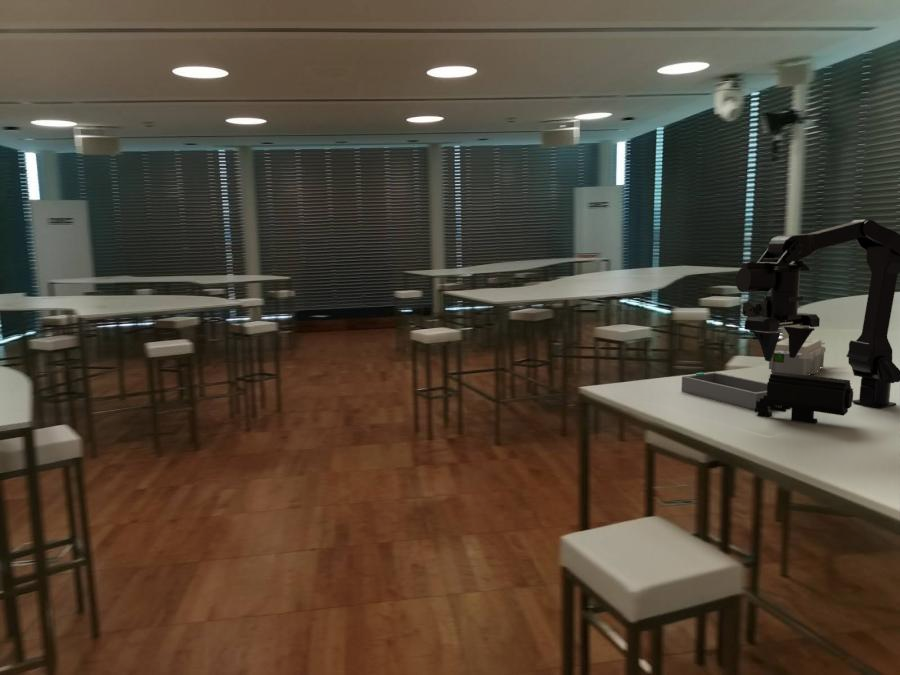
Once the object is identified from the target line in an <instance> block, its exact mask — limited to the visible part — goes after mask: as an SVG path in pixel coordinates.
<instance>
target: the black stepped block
mask: <svg viewBox="0 0 900 675" xmlns="http://www.w3.org/2000/svg"><path fill="white" fill-rule="evenodd" d="M766 383H767V395H764V398H760V401H756V408H755V410H754V412H755V413H757V416H760V417H766V418H769V417H772V415H773V411H776V412H782V413H786V412H787V410H790V409H791V415H790V416H791V417H790V418H791V419H790V421H792V422H799V423H805V424H813V425H815V424H816V423H817V422H818V418H815V417H814V416H815V412H816V413H823V414H829V415H830V414H831V415H837V416H845V415H847V413H849V412H848V411H849V409H850V408H852V407H853V406H852V405H853V400H854V391H853V390H854V388H852V386H851V380H849V379H843V378H842V379H841V378H835V377H825V376H814V375H810V376H808V375H799V374H790V373H781V372H774V373H772V374H771V373H770V374H769V378H768V381H767V382H766ZM768 406H770V408H768ZM769 410H770V411H769Z"/></svg>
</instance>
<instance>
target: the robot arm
mask: <svg viewBox="0 0 900 675" xmlns="http://www.w3.org/2000/svg"><path fill="white" fill-rule="evenodd" d="M851 241H855V242H856V244H857V245H858V247H859V248H861V249H862V250H864V251H865V252H866V263H867V265H868V268H869V269H870V272H871V273H870V274H871V277H870V282H869V289H868V292H867V294H868V295H867V300H866V307H865V312H864V316H863V317H864V319H863V324H862V330H861V334H860V335H859V337H858V338H857V339H855V340H852V339H851V340H850V341H849V343H848V351H847V354H846V357H847V358H848V365H850V367H851V369H852V373H853V376H855V377H859V378H861V379H860V386H859V396H858V397H859V398H858V399H855V400H854V399H853V402H852V404H857V405H863V406H868V407H872V408H877V409H883V408H889V407H895V406H897V402H892V401H890V398H891V397H890V396H891V385H892V384H895V383H900V369H899V368H898V366H896V364H895V363H894V362H893V348H892V346H891V343H890V341H889V339H888V333H889V328H890V321H891V316H892V312H893V304H894V298H895V293H896V286H897V280H898V276H899V274H900V233H898V232H897V231H894V230H892V229H890V228H888V227H885V226H883V225H881V224H880V223H877V222H876V221H875V220H873V219H870V218H866V219H854V220H852V221H851V222H848V223H847V222H846V223H843V224H839V225H836V226H831V227H828V228H824V229H820V230H817V231H813V232H809V233H803V234H787V235H786V234H785V235H777V236H775V237H773V238H771V239H770V242H769V244H768V246H767V248H766V250H765V251H764V253H763V254H762V255H761V256H760V258H759V259H758V261H757V262H752V261H744V262H743V261H742V262H741V264H742V265H741V268H739V270H738V272H737V275H736V276H735V285H736V288H737V290H738V292H741V293H767V292H769V295H765V296H764V299H763V302H761V303H755V302H754V300H753V301H752V300H751V301H746V302H744V303H742V309H741V310H742V311H741V312H742V315H743V316H744V317H747V318H746V319H745V320H744V330H746V331H749V333H751V334H753V335H754V336H755V337H756V338H757V340H758V342H759V344H760V348H761V351H762V354H763V356H764V360H765V362H769V361H771V359H772V357H773V354H774V351H775V348H776V345H777V342H779V338H780V336H781V332H780V331H778V330H779V328H780V327H783V329H784V330H785V331H786V333H787V335H788V338H789V356H790V358H795V357H796V355H797V353H798V352H799V350H800V349H801V347H802V345H803V344H804V342H805V341H806V339H809V337H810V335H811V333H812V332H814V331H815V328H817V327H820V322H821V321H820V320H821V319H820V317H819V316H818V314H817V313H816V314H815V313H806V312H798V310H799V306H798V305H799V302H801V301H803V300H804V299H803V297H804V296H803V295H800V294H799V293H800V292H799V290H800V277H801V276H800V275H801V272H809V271H811V269H810V267H809V266H807V265H806V264H805V262H804V261H803V260H804V259H805V258H808V257H809V256H812V254H814V253H815V252H817V251H819V250H822V249H825V248H828V247H833V246H836V245H840V244H845V243H847V242H851Z"/></svg>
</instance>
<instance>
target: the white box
mask: <svg viewBox="0 0 900 675" xmlns="http://www.w3.org/2000/svg"><path fill="white" fill-rule="evenodd" d="M823 345H825V342H822V339H820V338H819V339H816V338H807V339H806V341H805V342H804V344H803V345H802V347H801V349H800V350H799V352H798V353H797V355H796V357H795V358H790V356H789V337H788V338H785V339H782V340H780V341H778V342H777V345H776V348H775V351H774V354H773V357H772V359H771V361H768V370H771V371H770V372H771V373H774V372H781V373H790V374H799V375H808V376H809V374H814V375H816V374H817V373H816V372H817V371H819V370H821V369H820V367H823V368H824V360H825V352H826V347H825V346H823ZM819 372H820V371H819ZM771 373H770V374H771ZM815 373H816V374H815Z"/></svg>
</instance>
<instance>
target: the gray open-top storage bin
mask: <svg viewBox="0 0 900 675" xmlns="http://www.w3.org/2000/svg"><path fill="white" fill-rule="evenodd" d="M681 392H682V393H688V394H691V395H695V396H699V397H703V398H706V399H711V400H713V401H714V400H715V401H719V402H722V403H725V404H730V405H734V406H737V407H741V408H746V409H749V410H754V411H755V408H756V401H760V398H764V395H767V382H763V381H758V380H753V379H748V378H743V377H739V376H734V375H728V374H724V373H719V372H707V373H705V372H696V373H695V374H692V375H691V374H690V375H684V376H681ZM769 407H770V406H768V408H769ZM769 409H770V408H769Z"/></svg>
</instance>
